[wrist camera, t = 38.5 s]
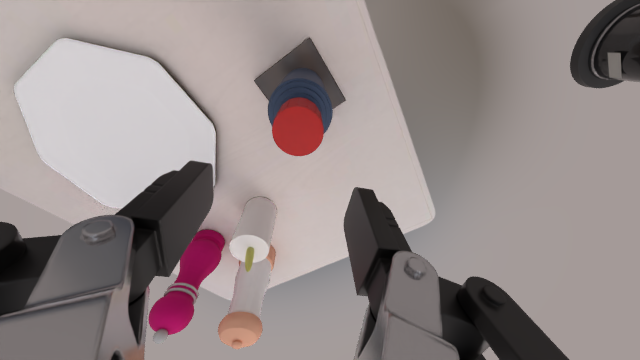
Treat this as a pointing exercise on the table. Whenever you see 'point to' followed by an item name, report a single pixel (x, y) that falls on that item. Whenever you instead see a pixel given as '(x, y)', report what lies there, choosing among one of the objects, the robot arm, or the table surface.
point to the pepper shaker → (247, 304)
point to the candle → (254, 231)
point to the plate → (111, 119)
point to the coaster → (296, 59)
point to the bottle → (301, 94)
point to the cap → (298, 127)
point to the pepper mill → (186, 285)
